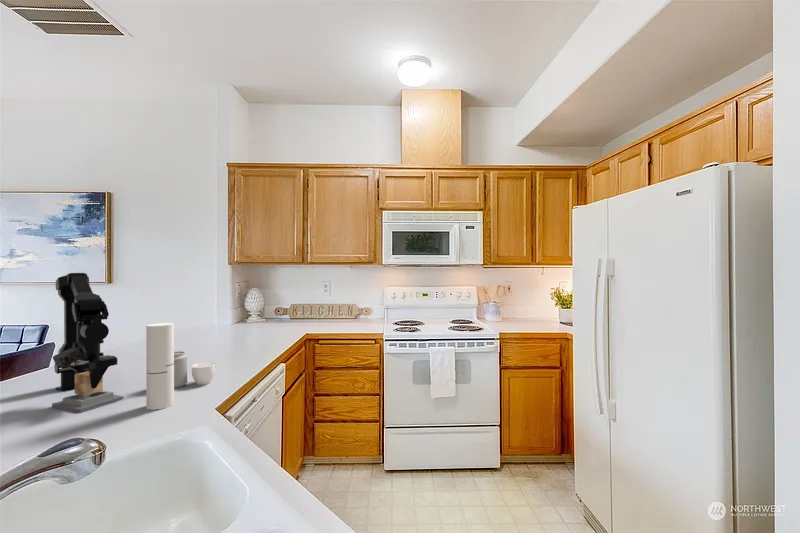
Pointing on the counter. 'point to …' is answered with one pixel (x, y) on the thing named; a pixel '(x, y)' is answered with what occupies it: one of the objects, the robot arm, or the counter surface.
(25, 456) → the counter surface
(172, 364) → the cylindrical container
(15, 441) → the counter surface
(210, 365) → the cup
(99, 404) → the grey tray
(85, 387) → the oak block
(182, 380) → the can
